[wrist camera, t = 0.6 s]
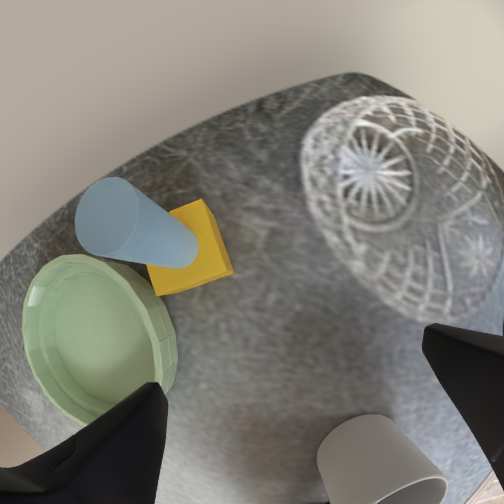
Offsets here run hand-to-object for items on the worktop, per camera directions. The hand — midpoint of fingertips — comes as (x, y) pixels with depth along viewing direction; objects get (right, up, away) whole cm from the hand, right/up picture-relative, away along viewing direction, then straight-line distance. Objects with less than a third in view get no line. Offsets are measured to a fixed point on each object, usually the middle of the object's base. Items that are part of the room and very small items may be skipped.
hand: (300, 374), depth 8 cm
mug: (+9, -17, +12) cm, 23 cm away
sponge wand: (-6, +3, +15) cm, 16 cm away
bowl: (-15, -5, +14) cm, 21 cm away
